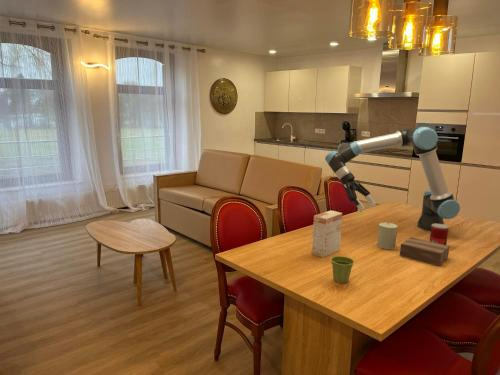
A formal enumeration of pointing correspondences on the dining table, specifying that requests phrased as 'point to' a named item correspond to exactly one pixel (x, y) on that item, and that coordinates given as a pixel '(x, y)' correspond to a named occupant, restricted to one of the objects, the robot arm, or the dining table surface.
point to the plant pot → (341, 268)
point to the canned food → (439, 233)
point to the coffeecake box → (326, 233)
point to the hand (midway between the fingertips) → (368, 207)
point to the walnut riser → (424, 251)
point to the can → (387, 235)
